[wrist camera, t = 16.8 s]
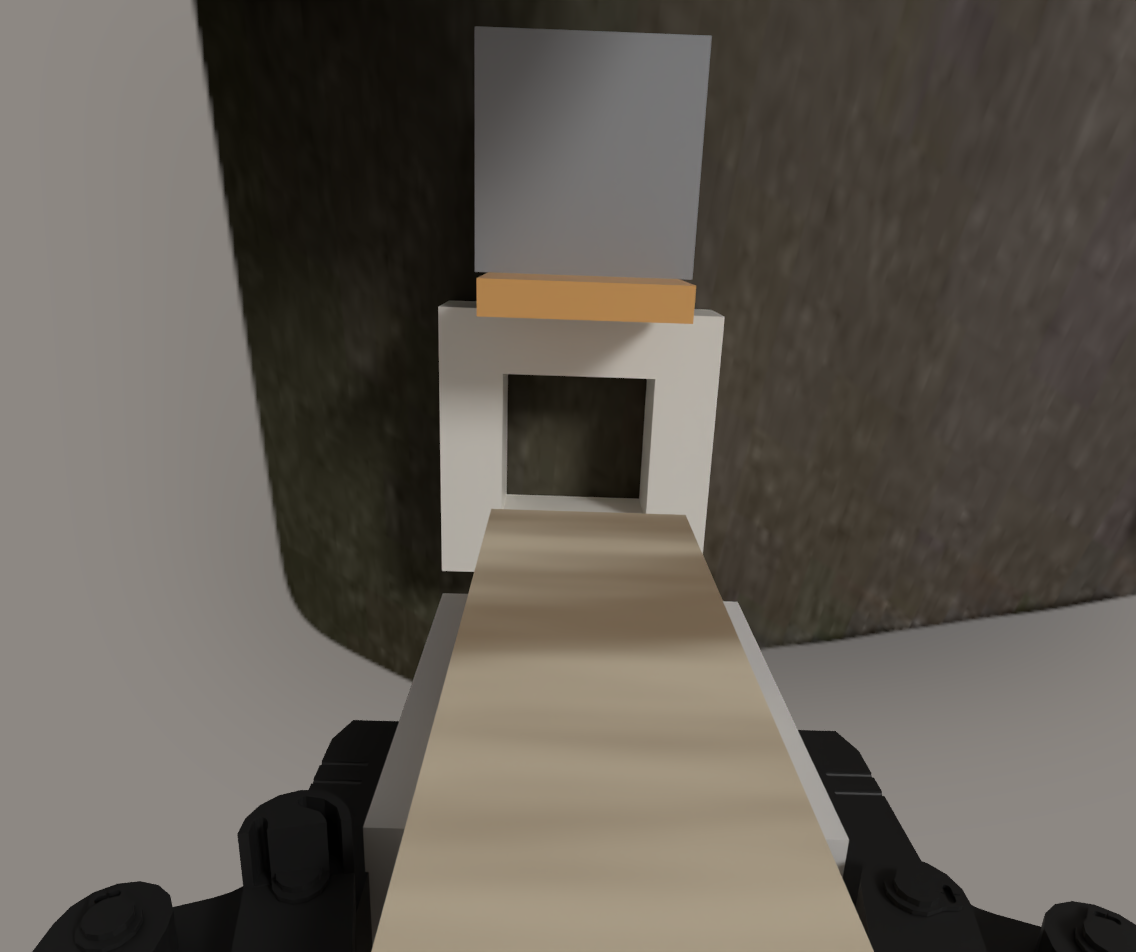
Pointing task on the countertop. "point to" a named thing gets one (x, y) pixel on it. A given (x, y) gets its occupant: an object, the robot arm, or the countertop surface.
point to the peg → (607, 764)
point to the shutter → (588, 173)
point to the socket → (571, 348)
